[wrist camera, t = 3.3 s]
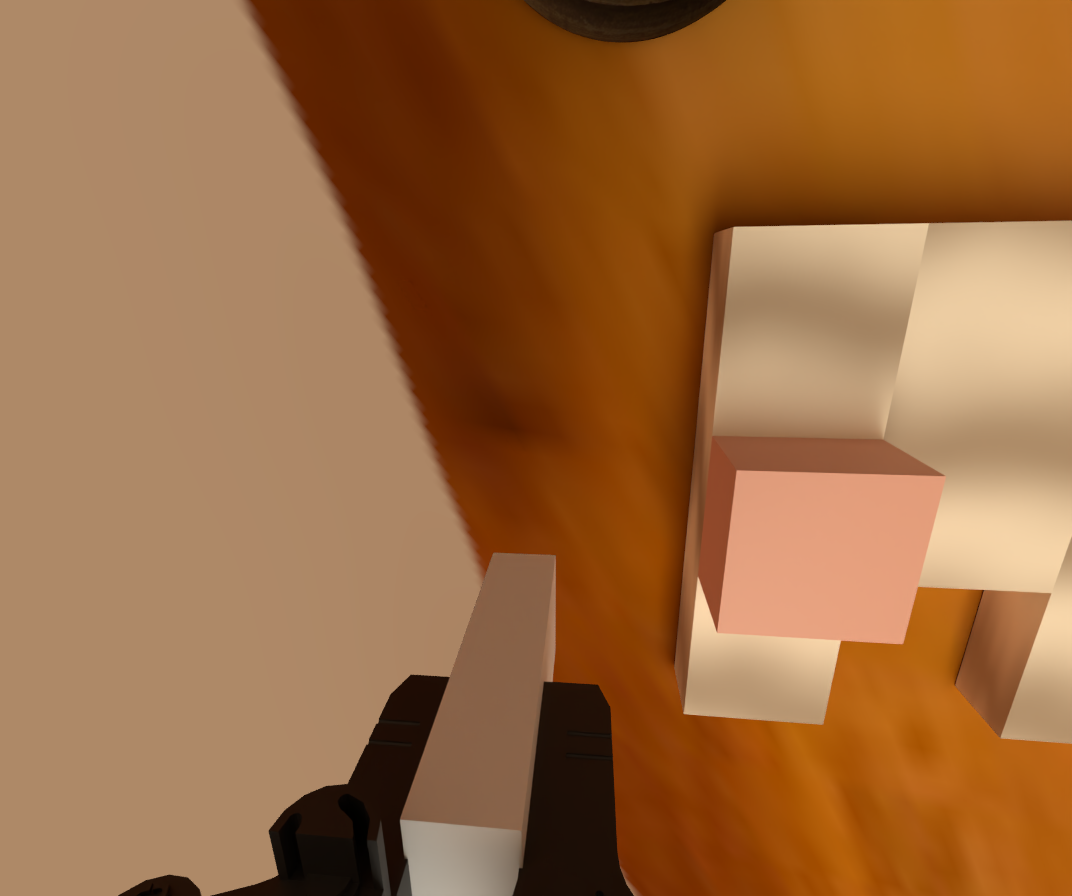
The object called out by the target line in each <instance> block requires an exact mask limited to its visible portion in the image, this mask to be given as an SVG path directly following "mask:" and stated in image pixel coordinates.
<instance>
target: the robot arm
mask: <svg viewBox="0 0 1072 896" xmlns="http://www.w3.org/2000/svg"><path fill="white" fill-rule="evenodd" d="M555 589H556V555H535V554H511V553H493V556H492V558H491V561H490V564H489V567H488V570H487V573H486V576H485V578H484V581H483V584H482V587H481V590H480V593H479V596H478V598H477V601H476V604H475V607H474V610H473V613H472V616H471V618H470V621H469V624H468V627H467V630H466V633H465V635H464V638H463V641H462V644H461V647H460V650H459V652H458V655H457V658H456V661H455V664H454V667H453V670H452V672H451V675H450V677H440V676H424V675H410V676H409V677H408V678H407V679H406V680H405V681H404V682H403V683H402V684H401V685H400V686H399V687H398V688H397V689H396V690H395V691H394V692H393V693H392V694H391V695H390V697H389V699H388V701H387V703H386V705H385V707H384V709H383V711H382V714H381V716H380V718H379V723H378V724H376V726H375V728H374V730H373V732H372V734H371V737H370V738H369V744H368V745H366V747H365V749H364V751H363V753H362V755H361V757H360V759H359V762H358V763H357V766H356V768H355V770H354V772H353V774H352V776H351V778H350V780H349V782H348V784H344V785H333V786H325V787H323V788H320V789H318V790H316V791H313V792H311V793H309V794H306V795H304V796H303V797H301V798H300V799H299V800H298V801H296V802H295V803H294V804H292V805H291V806H290V807H288V808H287V809H286V810H285V811H284V812H283V813H282V814H281V816H280V817H279V818H278V819H277V821H276V822H275V823H274V825H273V826H272V827H271V828H270V830H269V835H270V839H271V843H272V848H273V852H274V857H275V861H276V866H277V870H278V874H279V875H278V876H276V877H274V878H272V879H269V880H266V881H264V882H261V883H258V884H255V885H251V886H247V887H243V888H240V889H236V890H232V891H228V892H224V893H220V894H216V895H212V896H634V895H633V894H632V892H631V891H630V889H629V888H628V886H627V884H626V882H625V879H624V877H623V874H622V872H621V869H620V865H619V859H618V853H617V837H616V817H615V796H614V775H613V754H612V733H611V712H610V706H609V704H608V703H607V701H606V699H605V697H604V695H603V693H602V692H601V690H600V688H599V686H598V685H592V684H576V683H561V682H552V681H553V670H554V659H555ZM119 896H201V893H200V889H199V888H198V887H197V886H196V885H195V884H194V883H193V882H192V881H191V880H190V879H189V878H187V877H180V876H174V875H167V876H162V877H158V878H154V879H150V880H146V881H144V882H142V883H140V884H138V885H136V886H135V887H133V888H131V889H130V890H127V891H126V892H124V893H122V894H120V895H119Z"/></svg>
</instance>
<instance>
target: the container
mask: <svg viewBox="0 0 1072 896" xmlns="http://www.w3.org/2000/svg"><path fill="white" fill-rule="evenodd" d="M524 1H525V2H526V3H527V4H528V5H530V6H531V7H532V8H533V9H534V10H535V11H537V12H538V13H539V14H540V15H542V16H543V17H545V18H546V19H548V20H549V21H551V22H552V23H554V24H556V25H557V26H559V27H561V28H563V29H565V30H567V31H570V32H572V33H575V34H578V35H581V36H584V37H588V38H591V39H596V40H601V41H608V42H636V41H644V40H649V39H654V38H658V37H661V36H664V35H667V34H670V33H673V32H675V31H678V30H680V29H682V28H684V27H686V26H688V25H690V24H692V23H693V22H695V21H697V20H699V19H700V18H702V17H703V16H705V15H706V14H708V13H710V12H711V11H713V10H714V9H715V8H717V7H718V6H720V5H721V4H722V3H723V2H725V1H726V0H524Z"/></svg>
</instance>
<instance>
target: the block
mask: <svg viewBox="0 0 1072 896" xmlns="http://www.w3.org/2000/svg"><path fill="white" fill-rule="evenodd" d="M945 479H946V476H945V475H943V474H941V473H940V472H938V471H936V470H934V469H933V468H931V467H929V466H928V465H926V464H924V463H922V462H921V461H919V460H917V459H916V458H914V457H912V456H910V455H909V454H907V453H905V452H904V451H902V450H900V449H899V448H897V447H895V446H893V445H892V444H890V443H888V442H887V441H885V440H879V439H834V438H788V437H742V436H712V442H711V452H710V462H709V472H708V482H707V491H706V501H705V511H704V521H703V531H702V540H701V550H700V560H699V570H698V578H699V581H700V584H701V587H702V590H703V592H704V595H705V598H706V601H707V604H708V607H709V610H710V613H711V616H712V619H713V622H714V625H715V628H716V631H717V633H725V634H742V635H759V636H775V637H792V638H809V639H825V640H842V641H858V642H875V643H892V644H903V642H904V638H905V634H906V630H907V626H908V623H909V619H910V615H911V611H912V607H913V603H914V599H915V595H916V592H917V588H918V584H919V580H920V576H921V572H922V568H923V564H924V561H925V557H926V553H927V549H928V545H929V541H930V537H931V533H932V529H933V526H934V522H935V518H936V514H937V510H938V506H939V502H940V498H941V495H942V491H943V487H944V483H945Z"/></svg>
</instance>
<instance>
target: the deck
mask: <svg viewBox="0 0 1072 896" xmlns="http://www.w3.org/2000/svg"><path fill="white" fill-rule="evenodd" d="M712 436H742V437H788V438H834V439H879V440H885V441H887V442H888V443H890V444H892V445H893V446H895V447H897V448H899V449H900V450H902V451H904V452H905V453H907V454H909V455H910V456H912V457H914V458H916V459H917V460H919V461H921V462H922V463H924V464H926V465H928V466H929V467H931V468H933V469H934V470H936V471H938V472H940V473H941V474H943V475H945V476H946V479H945V483H944V487H943V491H942V495H941V498H940V502H939V506H938V510H937V514H936V518H935V522H934V526H933V529H932V533H931V537H930V541H929V545H928V549H927V553H926V557H925V561H924V564H923V568H922V572H921V576H920V580H919V584H918V587H936V588H956V589H977V590H984V592H983V595H982V599H981V602H980V605H979V608H978V612H977V615H976V618H975V621H974V625H973V628H972V631H971V635H970V638H969V641H968V644H967V648H966V651H965V654H964V658H963V661H962V664H961V667H960V671H959V674H958V677H957V680H956V684H955V686H956V688H957V689H958V690H959V691H960V692H961V693H962V695H963V696H964V697H965V698H966V699H967V700H968V701H969V703H970V704H971V705H972V706H973V707H974V708H975V709H976V711H977V712H978V713H979V714H980V715H981V716H982V718H983V719H984V720H985V721H986V722H987V723H988V724H989V726H990V727H991V728H992V729H993V730H994V731H995V733H996V734H997V735H998V736H999V737H1000V738H1005V739H1018V740H1032V741H1045V742H1058V743H1071V744H1072V221H1023V222H969V223H916V224H862V225H808V226H754V227H732V228H729V229H725V230H722V231H719V232H716V233H714V240H713V251H712V262H711V273H710V283H709V294H708V305H707V316H706V327H705V338H704V349H703V360H702V371H701V382H700V393H699V404H698V415H697V426H696V436H695V447H694V458H693V469H692V480H691V491H690V502H689V513H688V524H687V535H686V546H685V557H684V568H683V579H682V589H681V600H680V611H679V622H678V633H677V644H676V655H675V666H674V667H675V672H676V677H677V682H678V687H679V692H680V697H681V702H682V707H683V712H684V714H691V715H704V716H717V717H730V718H743V719H756V720H769V721H782V722H796V723H809V724H822V725H823V722H824V717H825V713H826V708H827V703H828V699H829V694H830V689H831V684H832V680H833V675H834V670H835V666H836V661H837V656H838V651H839V647H840V642H841V640H825V639H809V638H792V637H775V636H759V635H742V634H725V633H717V631H716V628H715V625H714V622H713V619H712V616H711V613H710V610H709V607H708V604H707V601H706V598H705V595H704V592H703V590H702V587H701V584H700V581H699V578H698V570H699V560H700V550H701V540H702V531H703V521H704V511H705V501H706V491H707V482H708V472H709V462H710V452H711V442H712Z"/></svg>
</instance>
